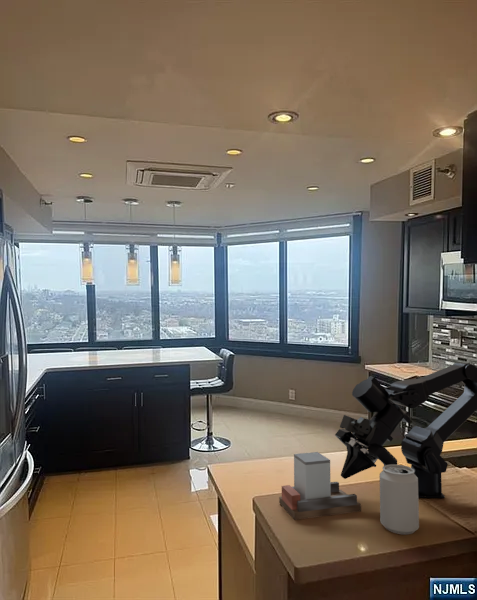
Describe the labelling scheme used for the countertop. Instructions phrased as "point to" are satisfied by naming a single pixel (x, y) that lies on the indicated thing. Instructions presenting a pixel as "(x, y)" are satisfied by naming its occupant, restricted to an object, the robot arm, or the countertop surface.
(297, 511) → the grey rail holder
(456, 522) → the countertop surface
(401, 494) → the can
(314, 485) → the grey rectangular box
